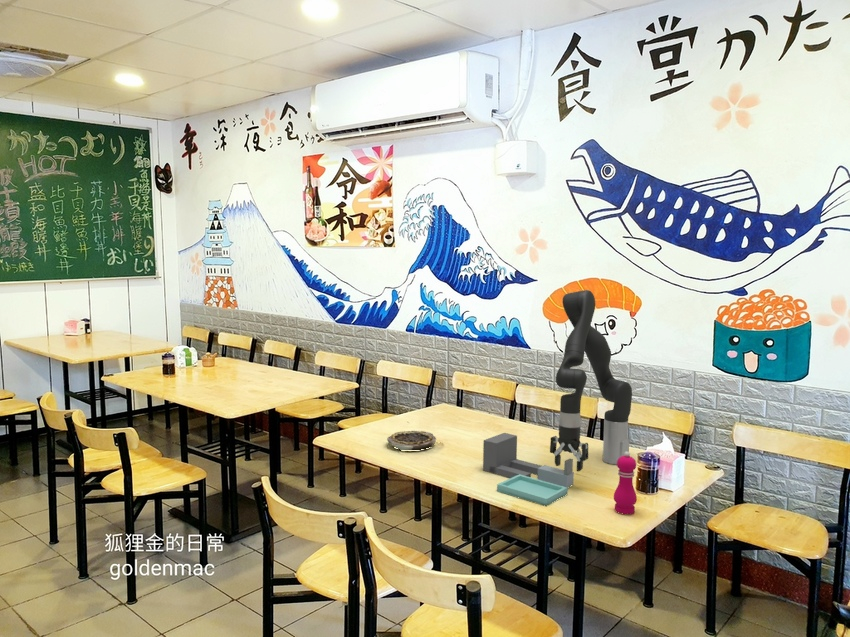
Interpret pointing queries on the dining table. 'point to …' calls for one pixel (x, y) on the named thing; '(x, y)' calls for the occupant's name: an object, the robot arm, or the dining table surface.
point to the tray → (532, 489)
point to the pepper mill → (625, 485)
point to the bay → (505, 457)
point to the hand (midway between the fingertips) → (568, 468)
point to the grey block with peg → (557, 474)
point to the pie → (412, 440)
